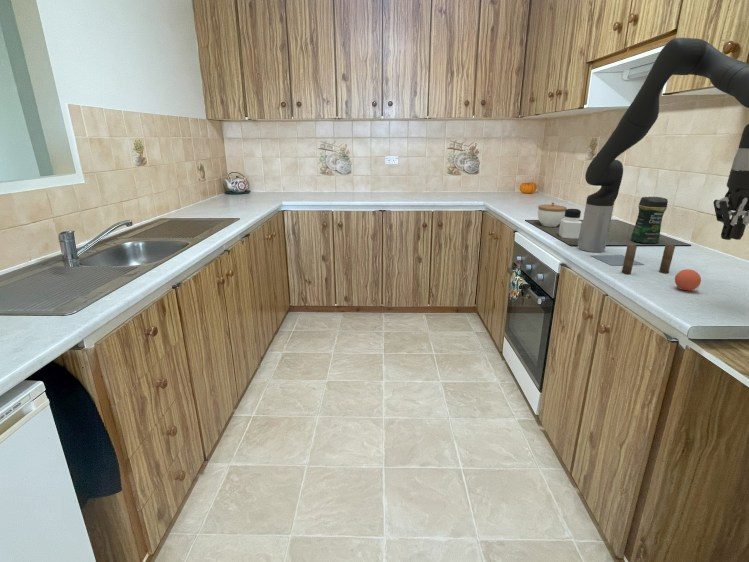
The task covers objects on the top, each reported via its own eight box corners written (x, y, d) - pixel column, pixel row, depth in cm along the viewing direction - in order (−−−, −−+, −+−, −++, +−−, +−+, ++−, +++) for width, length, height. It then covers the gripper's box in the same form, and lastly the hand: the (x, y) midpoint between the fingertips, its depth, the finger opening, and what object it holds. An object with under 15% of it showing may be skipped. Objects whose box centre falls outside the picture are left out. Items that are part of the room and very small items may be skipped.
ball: (667, 286, 124) (672, 266, 122) (686, 286, 125) (691, 266, 123) (683, 293, 118) (689, 273, 116) (703, 293, 119) (709, 272, 117)
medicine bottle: (579, 239, 180) (584, 210, 176) (562, 238, 181) (566, 210, 177) (575, 235, 187) (579, 208, 183) (558, 234, 188) (562, 207, 184)
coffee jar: (638, 244, 173) (648, 198, 167) (627, 239, 180) (636, 195, 174) (662, 244, 173) (673, 198, 167) (650, 239, 180) (660, 195, 174)
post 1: (619, 271, 137) (625, 244, 134) (627, 271, 137) (633, 244, 134) (625, 274, 134) (631, 246, 131) (632, 274, 135) (638, 246, 132)
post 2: (657, 270, 138) (663, 244, 135) (664, 270, 139) (671, 243, 136) (663, 273, 136) (669, 246, 133) (670, 273, 136) (677, 245, 133)
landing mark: (590, 255, 155) (590, 255, 155) (621, 255, 156) (621, 254, 156) (611, 265, 143) (611, 265, 143) (644, 264, 145) (644, 264, 145)
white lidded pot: (530, 223, 212) (533, 200, 208) (553, 222, 214) (557, 200, 210) (544, 228, 200) (548, 204, 196) (569, 227, 202) (573, 204, 198)
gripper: (761, 167, 106) (741, 235, 112) (711, 167, 105) (693, 236, 110) (793, 169, 99) (769, 242, 105) (739, 169, 98) (718, 243, 103)
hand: (730, 238), depth 107 cm, fingers closed
